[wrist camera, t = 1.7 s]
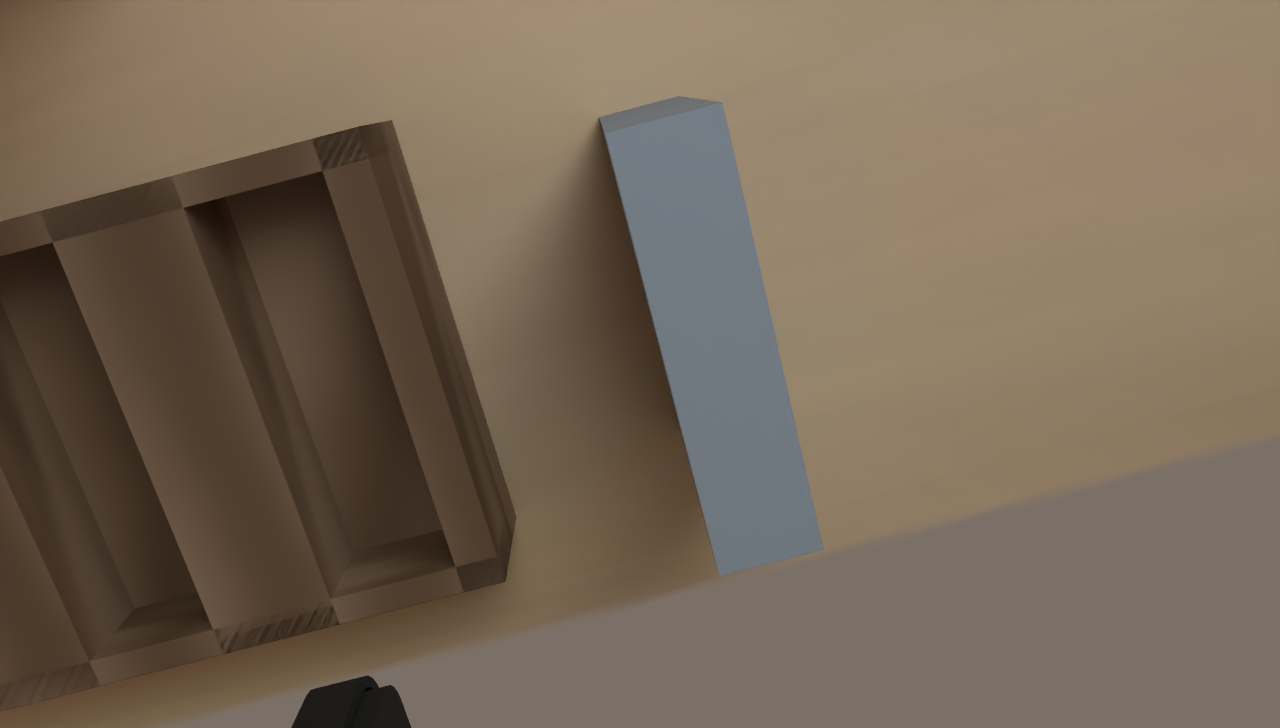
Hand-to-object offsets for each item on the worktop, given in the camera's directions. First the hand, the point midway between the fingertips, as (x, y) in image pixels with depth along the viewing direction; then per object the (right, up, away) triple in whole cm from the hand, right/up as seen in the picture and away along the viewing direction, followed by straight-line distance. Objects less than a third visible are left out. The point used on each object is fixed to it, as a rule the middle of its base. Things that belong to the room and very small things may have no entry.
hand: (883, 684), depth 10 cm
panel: (-1, +6, +21) cm, 22 cm away
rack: (-18, +2, +22) cm, 28 cm away
